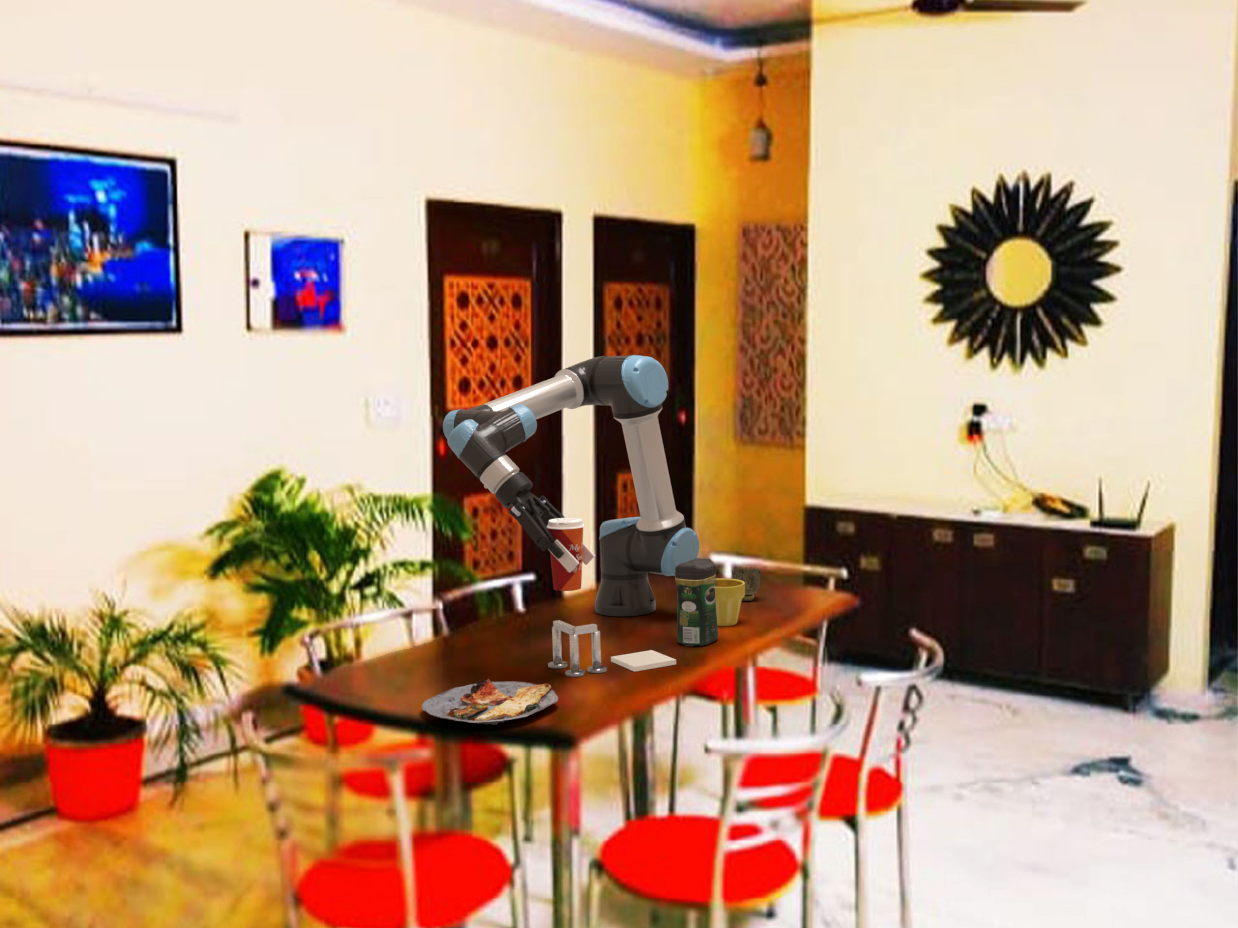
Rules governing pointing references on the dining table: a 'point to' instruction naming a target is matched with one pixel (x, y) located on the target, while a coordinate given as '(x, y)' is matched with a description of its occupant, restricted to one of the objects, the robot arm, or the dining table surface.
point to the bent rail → (575, 648)
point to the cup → (748, 581)
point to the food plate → (491, 701)
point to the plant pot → (728, 600)
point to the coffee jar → (696, 602)
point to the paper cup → (572, 540)
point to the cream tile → (643, 660)
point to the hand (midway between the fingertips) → (582, 563)
